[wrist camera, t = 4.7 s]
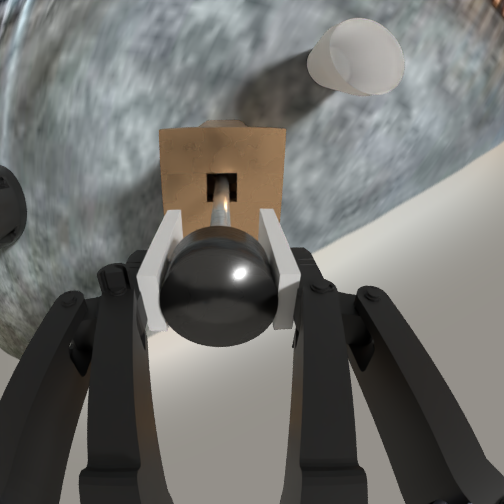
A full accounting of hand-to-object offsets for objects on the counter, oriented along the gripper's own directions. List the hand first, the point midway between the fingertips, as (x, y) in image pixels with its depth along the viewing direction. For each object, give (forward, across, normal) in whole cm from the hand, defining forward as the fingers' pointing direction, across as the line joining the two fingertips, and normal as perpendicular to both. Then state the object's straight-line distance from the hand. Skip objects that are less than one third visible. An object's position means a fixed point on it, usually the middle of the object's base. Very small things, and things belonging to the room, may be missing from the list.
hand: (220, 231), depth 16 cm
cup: (+24, +14, +14) cm, 31 cm away
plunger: (+14, 0, 0) cm, 14 cm away
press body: (+24, 0, -1) cm, 24 cm away
